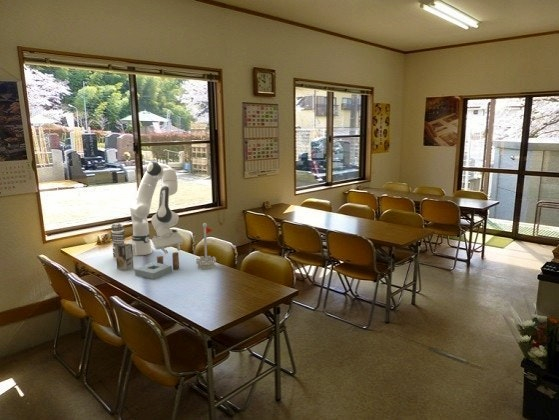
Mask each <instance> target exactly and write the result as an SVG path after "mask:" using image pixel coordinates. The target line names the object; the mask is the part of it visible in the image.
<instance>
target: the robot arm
mask: <svg viewBox="0 0 559 420" xmlns="http://www.w3.org/2000/svg"><path fill="white" fill-rule="evenodd" d="M159 181H161V185H160V186H161V187H160V191H159V197H158V199H159V200H158V208H157V210H156V213H155V214H153V215H152V217H150V218H151V219H150V220H151V224H152V227H153V229H154V231H156V236H152V238H151V233H150V229H149V222H148V216H149V215H150V212H151V205H152V200H153V196H154V194H155V190H156V189H157V185H158V182H159ZM178 184H179V183H178V177H177V173H176V171H175V169H174V168H173V166H172V167H171V166H169V165H167V164H166V163H162V162H158V161H155V160H151V161H148V163H147V164H146V169H145V172H144V175H143V177H142V179H141V180H140V183H139V187H138V190H137V195H136V198H135V200H134V201H132V202H131V203H130V204H129V205H130V206H129V209H130V210H129V211H130V218H131V223H132V233H133V234H132V235H130V238H131V240H129V241H128V243H126V244H132V253H133V257H135V256H136V257H137V256H145V255H146V256H147V255H149V254H152V253H153V247H154V249H155V250H158V251H159V250H161V251H162V252H163V253H165V255H166V254H168V253H169V251H168V249H166V248H171V247H177V248H176V250H177V251H178V252H179V251H181V245H183V243H184V238H183V237H182V235H181V234H180V233H179V230H178V229H172V227H174V226H176V225H177V224H178V223H179V221H180V216H179V214H177V212H175V211H173V210H171V209H170V207H169V204H170V197H171V196H173V195H175V194H176V193H177V192H178V187H179V186H178ZM151 242H152V243H153V247H152V243H151Z"/></svg>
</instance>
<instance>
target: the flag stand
mask: <svg viewBox="0 0 559 420" xmlns="http://www.w3.org/2000/svg"><path fill="white" fill-rule="evenodd" d="M207 226H208V224H207V223H206V222H203V224H202V227H203V242H204V245H203V246H204V247H203V248H204V256H202V255H201V256H200V257H197V258H196V259H195V263H196V264H197V268H198V267H199V268H198V269H200V268H201V270H210V269H212V268H213V269H214V267H215V264H216V262H217V258H216V257H215V256H211V255H208V249H207V248H208V246H207V243H208V241H207V240H208V239H207V234H208V233H210V232H212V231H213V229H211V228H208V227H207Z"/></svg>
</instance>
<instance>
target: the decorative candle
mask: <svg viewBox="0 0 559 420" xmlns="http://www.w3.org/2000/svg"><path fill="white" fill-rule="evenodd" d="M110 227H111V231H110V236H111V242H112V257H113V260H116V250H115V245H118V244H120V243H125V240H126V239H125V231H124V225H123V224H122V223H121V222H115V223H112V224H111V226H110Z"/></svg>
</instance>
